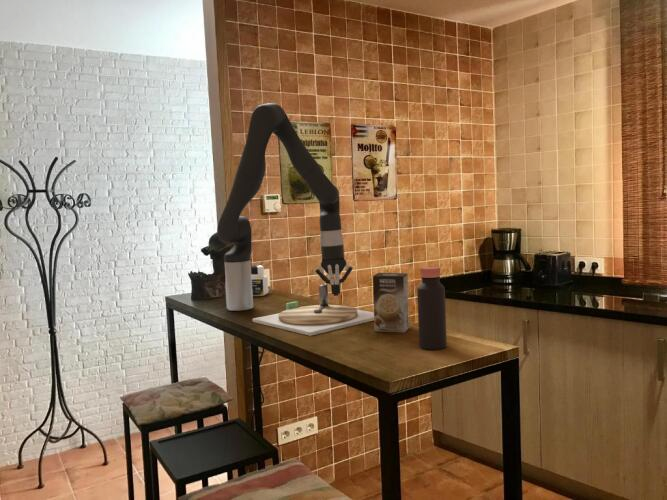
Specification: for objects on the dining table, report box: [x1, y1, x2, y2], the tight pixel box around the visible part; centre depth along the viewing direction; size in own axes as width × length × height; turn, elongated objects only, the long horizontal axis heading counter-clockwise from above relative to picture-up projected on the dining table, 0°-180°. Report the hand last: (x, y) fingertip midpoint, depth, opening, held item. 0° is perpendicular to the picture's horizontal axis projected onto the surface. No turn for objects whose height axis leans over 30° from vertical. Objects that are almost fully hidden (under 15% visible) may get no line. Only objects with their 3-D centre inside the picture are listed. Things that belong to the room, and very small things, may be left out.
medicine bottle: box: [251, 264, 269, 297], centre depth 240 cm, size 7×7×12 cm
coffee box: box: [372, 272, 410, 333], centre depth 167 cm, size 9×6×16 cm
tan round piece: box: [278, 283, 358, 324], centre depth 185 cm, size 25×25×8 cm
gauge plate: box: [252, 300, 374, 337], centre depth 186 cm, size 30×30×4 cm
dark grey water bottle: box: [416, 266, 448, 351], centre depth 146 cm, size 7×7×20 cm
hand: (336, 295), depth 196 cm, fingers closed
